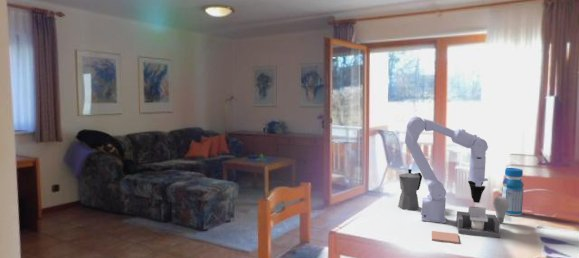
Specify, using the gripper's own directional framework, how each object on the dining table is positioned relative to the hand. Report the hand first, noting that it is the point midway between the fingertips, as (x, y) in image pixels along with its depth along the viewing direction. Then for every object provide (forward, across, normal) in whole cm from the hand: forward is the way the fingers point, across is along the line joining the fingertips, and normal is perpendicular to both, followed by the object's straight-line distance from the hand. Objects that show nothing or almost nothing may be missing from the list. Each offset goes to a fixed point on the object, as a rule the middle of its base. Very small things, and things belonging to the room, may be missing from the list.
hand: (475, 200), depth 165 cm
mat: (+9, -23, +12) cm, 28 cm away
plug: (+10, -11, 0) cm, 15 cm away
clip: (+4, -10, 0) cm, 11 cm away
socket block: (+9, -9, 0) cm, 13 cm away
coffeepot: (+10, +15, +26) cm, 32 cm away
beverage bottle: (+10, +21, -17) cm, 29 cm away
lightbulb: (+10, +4, -10) cm, 14 cm away
